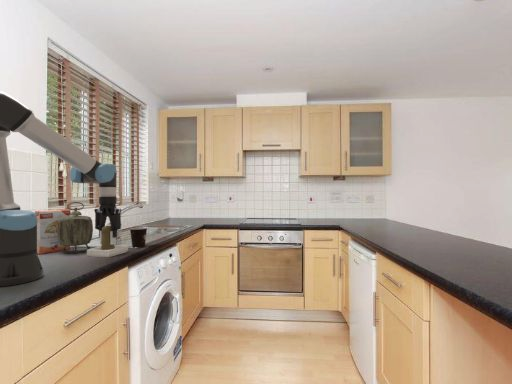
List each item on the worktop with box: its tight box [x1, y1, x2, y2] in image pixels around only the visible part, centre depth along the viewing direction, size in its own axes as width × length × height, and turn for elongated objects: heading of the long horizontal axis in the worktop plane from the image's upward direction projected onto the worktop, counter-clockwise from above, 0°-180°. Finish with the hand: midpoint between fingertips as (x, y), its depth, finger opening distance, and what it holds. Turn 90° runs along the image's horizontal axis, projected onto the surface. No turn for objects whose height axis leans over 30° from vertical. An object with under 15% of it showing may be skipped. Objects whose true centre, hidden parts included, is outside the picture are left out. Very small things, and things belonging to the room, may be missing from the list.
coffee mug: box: [129, 226, 148, 249], centre depth 150 cm, size 12×9×10 cm
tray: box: [86, 244, 129, 258], centre depth 134 cm, size 13×12×3 cm
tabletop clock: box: [57, 201, 94, 254], centre depth 139 cm, size 14×9×25 cm, turn 118°
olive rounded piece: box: [100, 225, 116, 250], centre depth 134 cm, size 6×6×11 cm
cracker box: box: [34, 209, 72, 255], centre depth 141 cm, size 14×6×21 cm, turn 150°
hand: (107, 244), depth 134 cm, fingers closed on olive rounded piece, 5 cm apart
